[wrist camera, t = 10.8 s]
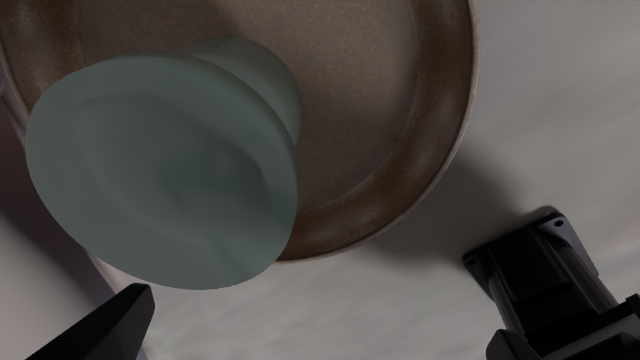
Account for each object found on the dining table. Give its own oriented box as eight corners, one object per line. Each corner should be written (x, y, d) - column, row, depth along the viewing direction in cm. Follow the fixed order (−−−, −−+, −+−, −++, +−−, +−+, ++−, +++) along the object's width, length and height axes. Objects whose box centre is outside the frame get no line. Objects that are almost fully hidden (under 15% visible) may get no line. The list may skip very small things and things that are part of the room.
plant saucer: (385, 257, 24) (390, 296, 22) (84, 200, 23) (48, 233, 20) (547, -125, 13) (601, -146, 10) (-18, -272, 12) (-127, -339, 9)
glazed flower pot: (349, 125, 15) (347, 228, 9) (235, 200, 18) (178, 316, 12) (236, -25, 13) (134, -13, 7) (121, 89, 15) (-24, 170, 9)
